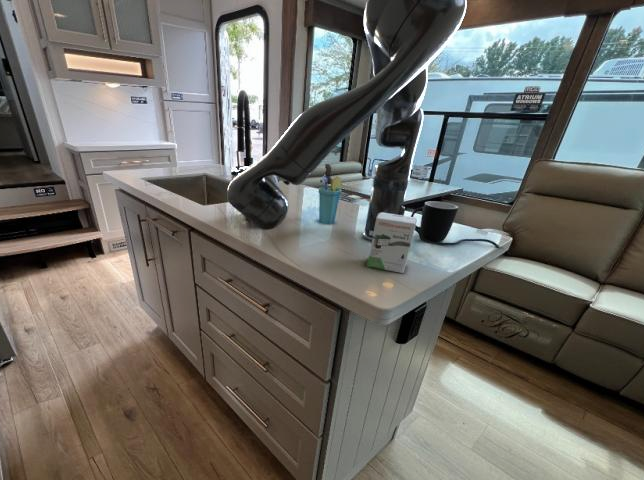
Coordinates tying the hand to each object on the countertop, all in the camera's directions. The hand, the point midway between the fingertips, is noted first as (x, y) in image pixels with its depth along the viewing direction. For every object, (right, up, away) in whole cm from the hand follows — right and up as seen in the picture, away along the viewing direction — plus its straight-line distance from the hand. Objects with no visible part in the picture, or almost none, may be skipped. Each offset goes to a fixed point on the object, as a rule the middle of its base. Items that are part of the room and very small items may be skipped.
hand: (261, 171), depth 82 cm
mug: (+49, -15, +14) cm, 53 cm away
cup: (+19, -8, +23) cm, 31 cm away
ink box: (+30, -26, -6) cm, 40 cm away
